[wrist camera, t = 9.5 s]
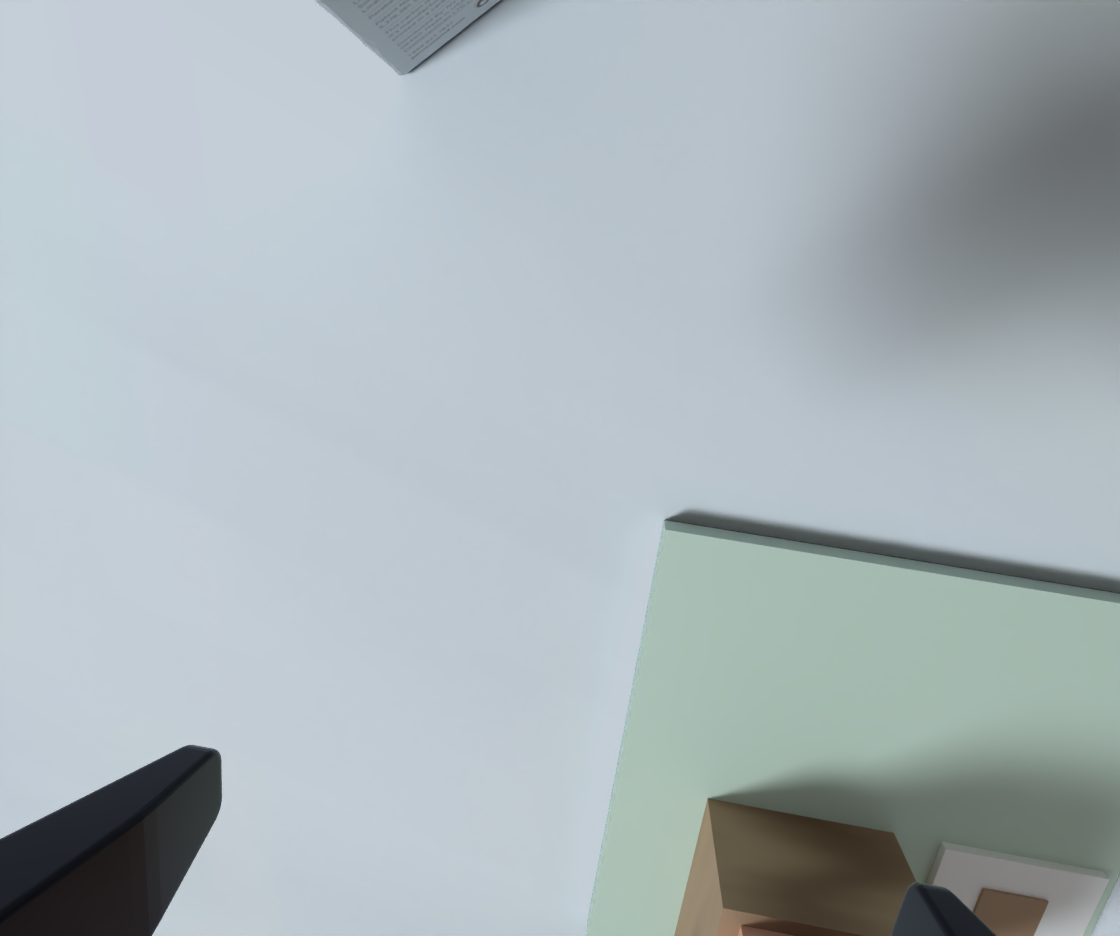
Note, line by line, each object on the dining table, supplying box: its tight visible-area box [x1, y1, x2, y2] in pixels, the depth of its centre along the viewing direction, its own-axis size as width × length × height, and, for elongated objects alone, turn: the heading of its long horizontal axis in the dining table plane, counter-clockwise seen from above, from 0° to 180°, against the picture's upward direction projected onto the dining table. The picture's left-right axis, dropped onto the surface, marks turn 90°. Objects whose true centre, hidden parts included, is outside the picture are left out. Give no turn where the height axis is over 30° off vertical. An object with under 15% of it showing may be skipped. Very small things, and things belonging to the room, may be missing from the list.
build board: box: [587, 520, 1120, 936], centre depth 22 cm, size 16×16×1 cm
